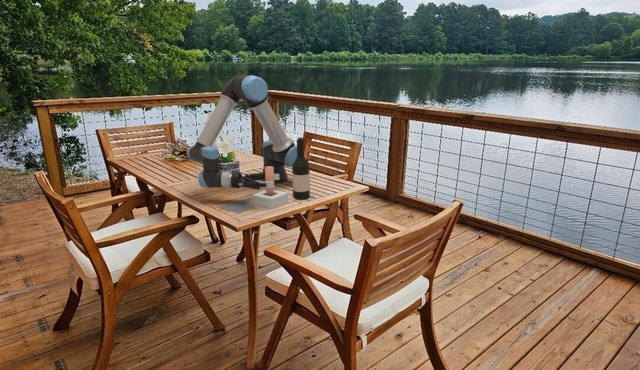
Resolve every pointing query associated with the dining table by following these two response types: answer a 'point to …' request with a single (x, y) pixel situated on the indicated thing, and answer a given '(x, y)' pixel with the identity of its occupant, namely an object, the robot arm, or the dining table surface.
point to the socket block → (270, 199)
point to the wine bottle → (301, 174)
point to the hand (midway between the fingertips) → (276, 180)
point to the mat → (237, 207)
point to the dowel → (269, 179)
